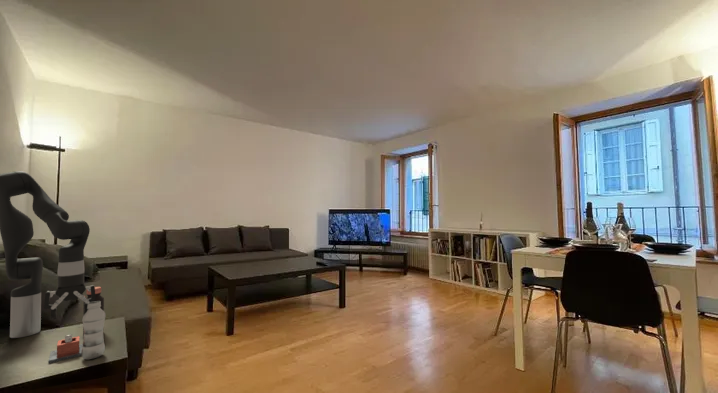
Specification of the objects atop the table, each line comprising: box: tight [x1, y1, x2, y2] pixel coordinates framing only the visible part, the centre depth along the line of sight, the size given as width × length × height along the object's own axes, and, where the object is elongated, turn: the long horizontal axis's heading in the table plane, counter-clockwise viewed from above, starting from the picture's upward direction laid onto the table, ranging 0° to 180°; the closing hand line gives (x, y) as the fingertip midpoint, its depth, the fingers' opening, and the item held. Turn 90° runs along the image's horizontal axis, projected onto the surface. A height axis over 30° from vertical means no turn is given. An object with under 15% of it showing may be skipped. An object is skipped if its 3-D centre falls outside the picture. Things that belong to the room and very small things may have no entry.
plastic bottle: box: [81, 301, 107, 360], centre depth 114 cm, size 6×7×20 cm
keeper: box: [47, 333, 83, 365], centre depth 117 cm, size 10×10×7 cm
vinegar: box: [82, 286, 105, 337], centre depth 136 cm, size 7×7×20 cm
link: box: [56, 335, 80, 357], centre depth 117 cm, size 6×6×4 cm
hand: (70, 315), depth 118 cm, fingers open, 8 cm apart
